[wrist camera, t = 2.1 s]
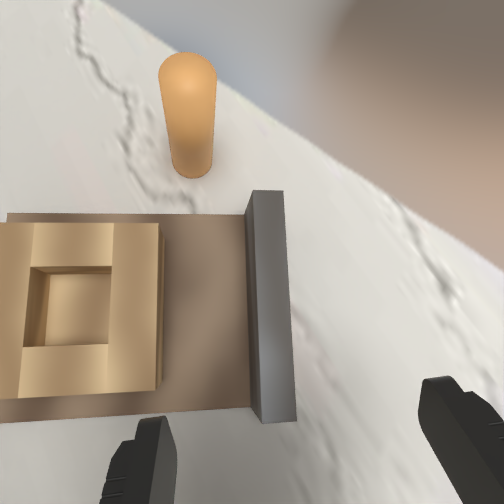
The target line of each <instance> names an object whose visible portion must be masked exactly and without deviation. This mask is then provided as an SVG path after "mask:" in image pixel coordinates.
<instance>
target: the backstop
mask: <svg viewBox="0 0 504 504" xmlns="http://www.w3.org/2000/svg"><path fill="white" fill-rule="evenodd" d="M6 223H159V226H160V229H161V231H162V234H163V236H164V239H165V245H164V310H163V376H162V383H161V384H160V385H159V386H158V388H157V389H156V390H153V391H136V392H119V393H101V394H84V395H66V396H49V397H32V398H14V399H0V423H14V422H29V421H44V420H59V419H74V418H90V417H105V416H120V415H135V414H150V413H165V412H181V411H196V410H211V409H226V408H241V407H251V408H252V410H253V411H254V412H255V414H256V415H257V417H258V418H259V420H260V421H261V423H262V424H266V423H279V422H293V421H297V416H296V399H295V382H294V365H293V348H292V331H291V314H290V297H289V281H288V264H287V247H286V230H285V213H284V196H283V191H274V190H253V191H252V194H251V197H250V200H249V203H248V205H247V208H246V211H245V214H244V215H210V214H70V213H7V222H6Z"/></svg>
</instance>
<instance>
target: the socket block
mask: <svg viewBox="0 0 504 504" xmlns="http://www.w3.org/2000/svg"><path fill="white" fill-rule="evenodd" d="M164 245H165V239H164V236H163V234H162V231H161V229H160V226H159V223H0V399H14V398H32V397H49V396H66V395H84V394H101V393H119V392H136V391H153V390H156V389H157V388H158V386H159V385H160V384H161V383H162V376H163V310H164Z"/></svg>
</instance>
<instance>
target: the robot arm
mask: <svg viewBox="0 0 504 504" xmlns="http://www.w3.org/2000/svg"><path fill="white" fill-rule="evenodd" d="M418 418H419V423H420V426H421V429H422V431H423V433H424V435H425V437H426V438H427V440H428V442H429V444H430V446H431V447H432V449H433V451H434V453H435V454H436V456H437V458H438V460H439V462H440V463H441V465H442V467H443V469H444V470H445V472H446V474H447V476H448V478H449V479H450V481H451V483H452V485H453V486H454V488H455V490H456V492H457V494H458V495H459V497H460V499H461V501H462V502H463V504H504V421H503V419H502V418H501V417H500V416H499V414H498V413H497V412H496V411H495V409H494V408H493V407H492V406H491V405H490V404H489V403H488V402H486V401H485V400H484V399H482V398H481V397H480V396H478V395H477V394H475V393H474V392H473V391H471V392H463V390H462V389H461V388H460V386H459V385H458V384H457V382H456V381H455V380H454V379H453V378H452V377H451V376H442V377H435V378H428V379H424V380H423V382H422V388H421V395H420V401H419V408H418ZM176 474H177V451H176V446H175V443H174V440H173V436H172V433H171V430H170V427H169V424H168V420H167V418H166V416H159V417H152V418H145V419H140V421H139V423H138V426H137V431H136V435H135V440H129V441H123V442H122V443H121V445H120V446H119V448H118V449H117V451H116V452H115V454H114V456H113V457H112V459H111V462H110V465H109V469H108V473H107V477H106V482H105V484H104V488H103V491H102V498H101V499H100V503H99V504H174V494H175V484H176Z"/></svg>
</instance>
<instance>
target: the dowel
mask: <svg viewBox="0 0 504 504" xmlns="http://www.w3.org/2000/svg"><path fill="white" fill-rule="evenodd" d="M158 78H159V84H160V90H161V96H162V102H163V108H164V114H165V120H166V126H167V132H168V138H169V144H170V150H171V156H172V162H173V166H174V168H175V170H176V171H177V172H178V173H179V174H180V175H182V176H184V177H187V178H199V177H201V176H203V175H205V174H206V173H207V172H208V171H209V169H210V168H211V164H212V151H213V135H214V118H215V102H216V85H217V75H216V72H215V69H214V67H213V66H212V64H211V63H210V62H209V61H208V60H207V59H205V58H204V57H202V56H200V55H198V54H195V53H190V52H181V53H176V54H174V55H171V56H170V57H168V58H167V59H166V60H165V61H164V62H163V63H162V65H161V66H160V69H159V74H158Z"/></svg>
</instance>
